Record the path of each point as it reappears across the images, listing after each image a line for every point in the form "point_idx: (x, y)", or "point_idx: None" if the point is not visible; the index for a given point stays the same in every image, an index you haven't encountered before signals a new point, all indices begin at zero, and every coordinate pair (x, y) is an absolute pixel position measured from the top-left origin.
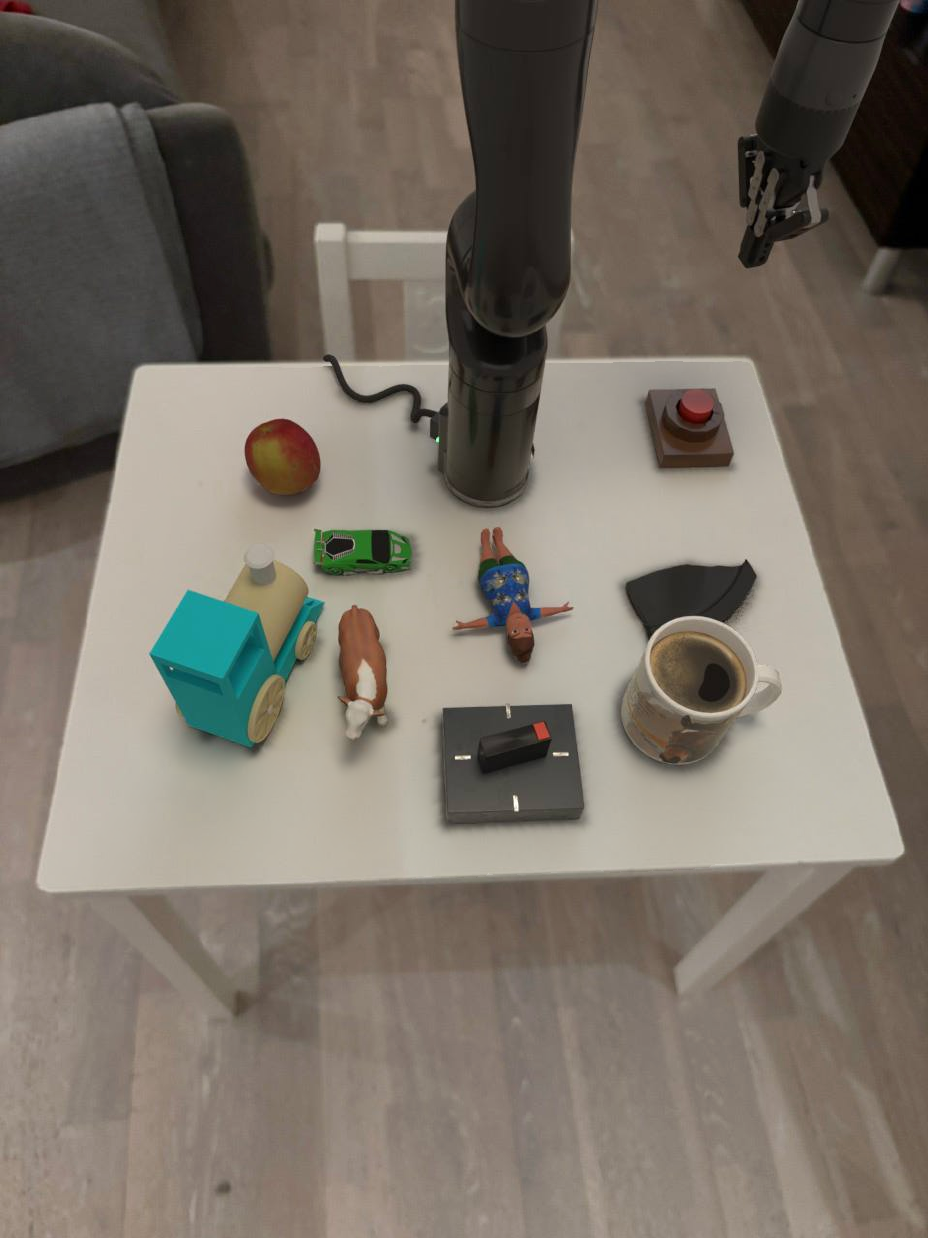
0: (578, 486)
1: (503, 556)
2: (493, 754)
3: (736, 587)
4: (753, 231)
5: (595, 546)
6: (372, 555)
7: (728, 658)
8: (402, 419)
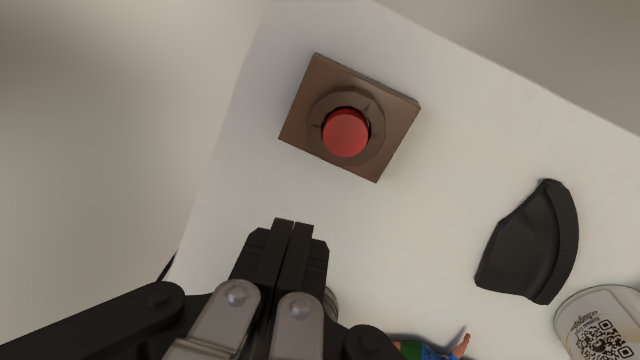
0: (352, 252)
1: None
2: None
3: (561, 216)
4: (270, 340)
5: (420, 275)
6: None
7: None
8: None
